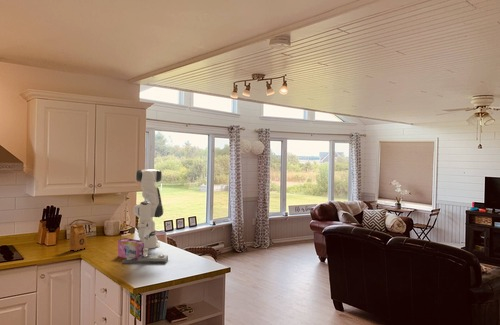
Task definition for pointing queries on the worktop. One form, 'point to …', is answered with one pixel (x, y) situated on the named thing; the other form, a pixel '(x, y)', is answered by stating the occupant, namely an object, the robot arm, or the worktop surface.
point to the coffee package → (77, 237)
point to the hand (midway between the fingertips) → (145, 241)
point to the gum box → (130, 248)
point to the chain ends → (147, 260)
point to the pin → (145, 253)
